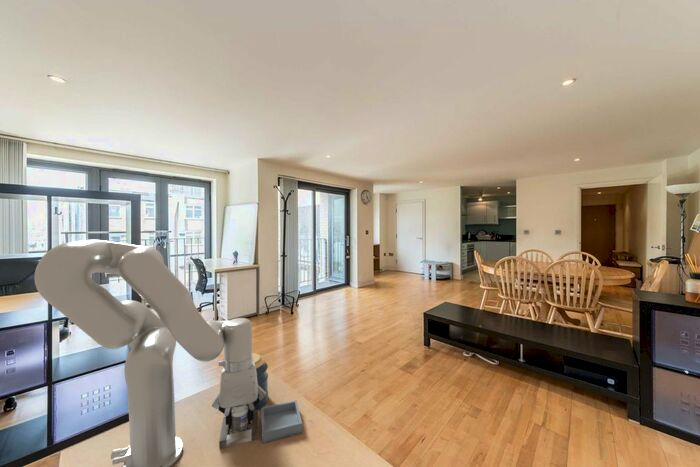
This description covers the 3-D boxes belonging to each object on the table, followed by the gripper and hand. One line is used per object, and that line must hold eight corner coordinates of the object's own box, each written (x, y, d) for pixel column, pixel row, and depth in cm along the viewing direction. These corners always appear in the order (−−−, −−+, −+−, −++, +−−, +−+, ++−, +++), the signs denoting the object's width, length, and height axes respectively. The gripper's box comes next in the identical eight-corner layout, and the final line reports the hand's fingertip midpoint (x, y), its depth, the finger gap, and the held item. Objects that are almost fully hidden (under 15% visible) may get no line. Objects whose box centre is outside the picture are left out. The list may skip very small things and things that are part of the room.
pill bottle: (242, 438, 77) (242, 409, 77) (228, 435, 78) (227, 407, 78) (252, 426, 82) (251, 398, 82) (238, 424, 83) (237, 397, 83)
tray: (262, 443, 76) (262, 432, 75) (261, 417, 86) (261, 407, 86) (302, 433, 79) (302, 423, 79) (296, 409, 90) (296, 400, 89)
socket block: (219, 448, 74) (219, 441, 74) (223, 423, 83) (223, 416, 83) (258, 439, 77) (258, 432, 77) (258, 415, 87) (258, 409, 87)
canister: (218, 408, 90) (217, 355, 90) (250, 387, 102) (249, 340, 101) (245, 422, 84) (244, 365, 83) (276, 398, 95) (275, 348, 95)
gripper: (203, 374, 73) (205, 440, 74) (269, 363, 79) (270, 425, 79) (208, 361, 80) (210, 421, 81) (268, 352, 86) (269, 408, 86)
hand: (240, 422), depth 80 cm, fingers closed on pill bottle, 4 cm apart
